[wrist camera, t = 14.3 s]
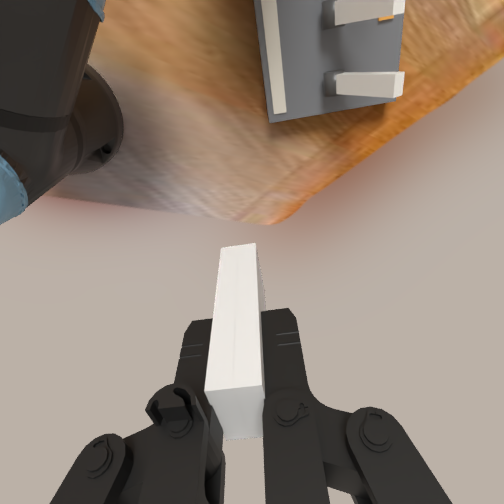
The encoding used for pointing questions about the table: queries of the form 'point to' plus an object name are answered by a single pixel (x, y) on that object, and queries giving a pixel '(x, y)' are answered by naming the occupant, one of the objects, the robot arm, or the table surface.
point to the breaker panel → (319, 56)
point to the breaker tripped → (357, 11)
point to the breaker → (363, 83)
